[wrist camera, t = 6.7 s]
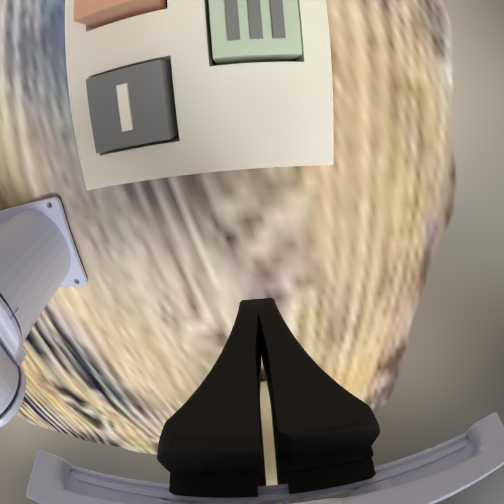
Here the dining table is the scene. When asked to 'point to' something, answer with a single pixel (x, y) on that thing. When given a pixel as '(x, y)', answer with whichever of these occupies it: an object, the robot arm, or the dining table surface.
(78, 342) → the dining table surface
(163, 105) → the key one
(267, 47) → the key three
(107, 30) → the key panel
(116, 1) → the key two
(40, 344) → the dining table surface
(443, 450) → the robot arm
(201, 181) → the dining table surface
